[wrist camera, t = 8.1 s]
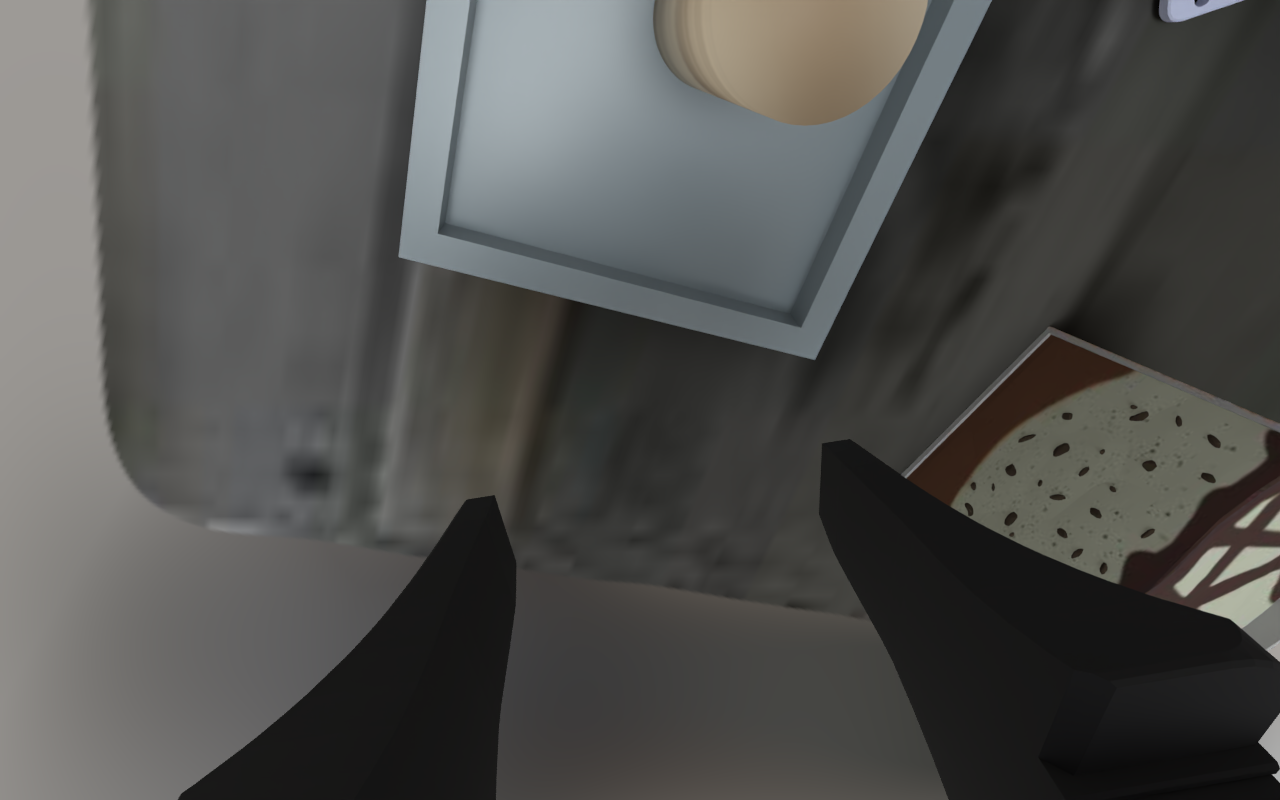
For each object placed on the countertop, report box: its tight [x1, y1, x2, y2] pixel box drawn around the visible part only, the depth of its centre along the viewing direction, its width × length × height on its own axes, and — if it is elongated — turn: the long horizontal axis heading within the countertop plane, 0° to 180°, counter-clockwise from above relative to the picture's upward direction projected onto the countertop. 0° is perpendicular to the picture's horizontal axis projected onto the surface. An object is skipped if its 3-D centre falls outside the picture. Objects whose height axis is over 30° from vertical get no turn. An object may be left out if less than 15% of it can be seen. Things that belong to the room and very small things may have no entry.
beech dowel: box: [653, 0, 928, 126], centre depth 13 cm, size 4×4×8 cm
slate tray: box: [399, 0, 992, 360], centre depth 17 cm, size 14×14×2 cm
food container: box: [901, 326, 1280, 651], centre depth 22 cm, size 12×6×10 cm, turn 147°
